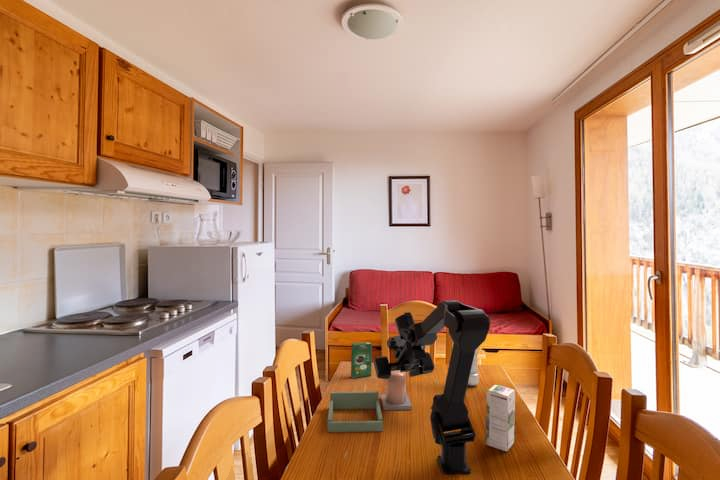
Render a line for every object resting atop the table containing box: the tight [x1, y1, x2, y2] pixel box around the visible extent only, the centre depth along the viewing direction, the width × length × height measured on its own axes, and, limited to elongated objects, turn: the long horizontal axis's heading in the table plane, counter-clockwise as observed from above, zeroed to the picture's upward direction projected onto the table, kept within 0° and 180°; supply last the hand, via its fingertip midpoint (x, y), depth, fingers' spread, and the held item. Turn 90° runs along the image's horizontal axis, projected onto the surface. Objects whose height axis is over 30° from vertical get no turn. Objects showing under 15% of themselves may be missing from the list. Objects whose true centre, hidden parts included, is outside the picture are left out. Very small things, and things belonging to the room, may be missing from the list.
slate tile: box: [380, 393, 413, 411], centre depth 125 cm, size 9×9×1 cm
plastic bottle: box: [467, 346, 480, 387], centre depth 141 cm, size 6×7×20 cm
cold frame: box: [327, 391, 384, 433], centre depth 114 cm, size 16×16×5 cm
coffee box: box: [350, 341, 373, 379], centre depth 150 cm, size 8×3×13 cm, turn 113°
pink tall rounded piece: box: [385, 370, 407, 405], centre depth 124 cm, size 6×6×9 cm
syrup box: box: [485, 384, 516, 452], centre depth 100 cm, size 6×6×14 cm
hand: (396, 377), depth 124 cm, fingers open, 9 cm apart
